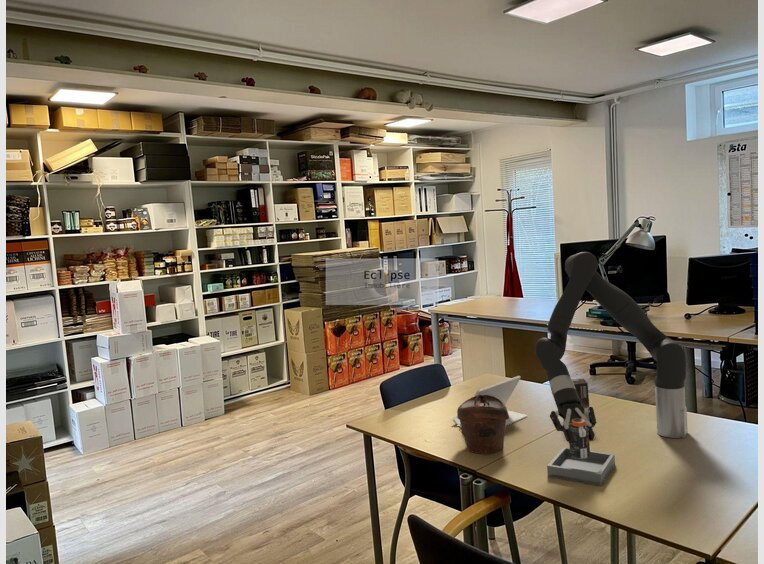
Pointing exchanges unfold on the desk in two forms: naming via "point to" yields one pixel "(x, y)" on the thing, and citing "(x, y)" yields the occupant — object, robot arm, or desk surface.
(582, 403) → the coffee box
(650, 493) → the desk surface
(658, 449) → the desk surface
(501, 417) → the brown tapered container
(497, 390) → the tablet stand
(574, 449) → the pill bottle
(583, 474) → the tray
